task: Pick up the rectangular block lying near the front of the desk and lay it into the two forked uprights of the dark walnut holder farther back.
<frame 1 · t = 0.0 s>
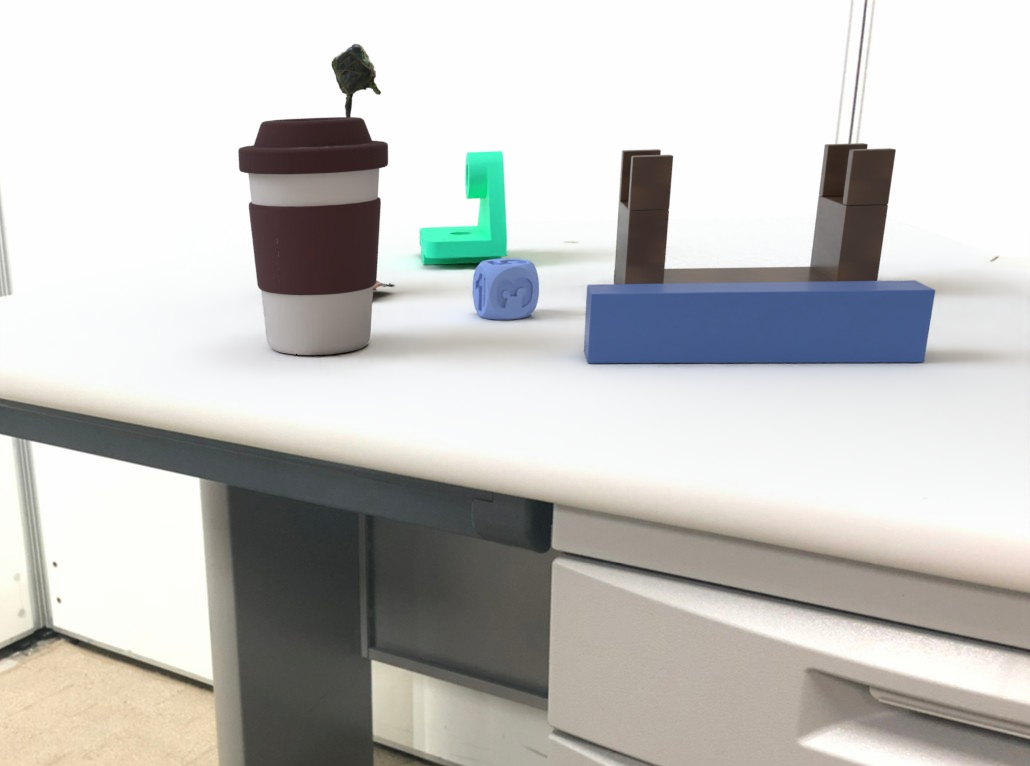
holder: (737, 290, 98), on the table
decorative dice: (504, 317, 92), on the table
plant with pod: (327, 297, 103), on the table
rectangular block: (746, 356, 76), on the table
camera mount: (460, 262, 120), on the table
coffee cup: (318, 348, 84), on the table
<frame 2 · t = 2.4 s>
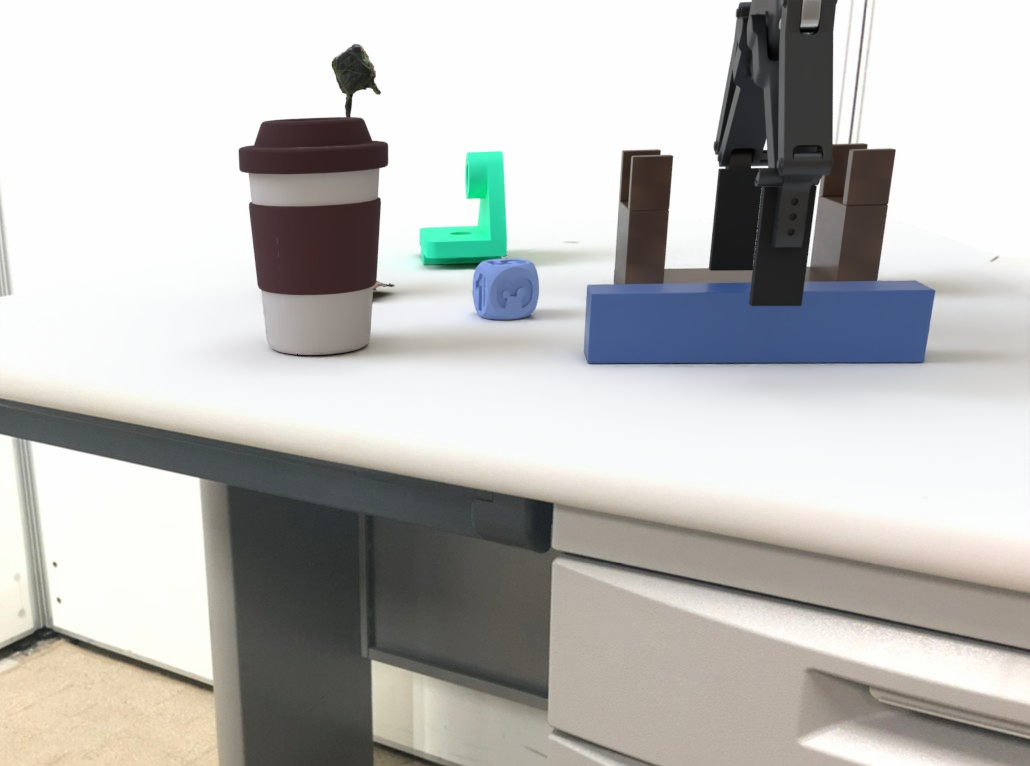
hand: (750, 286, 74), 4 cm above the table, tool pointing down, fingers open, 13 cm apart
nothing on the table moved.
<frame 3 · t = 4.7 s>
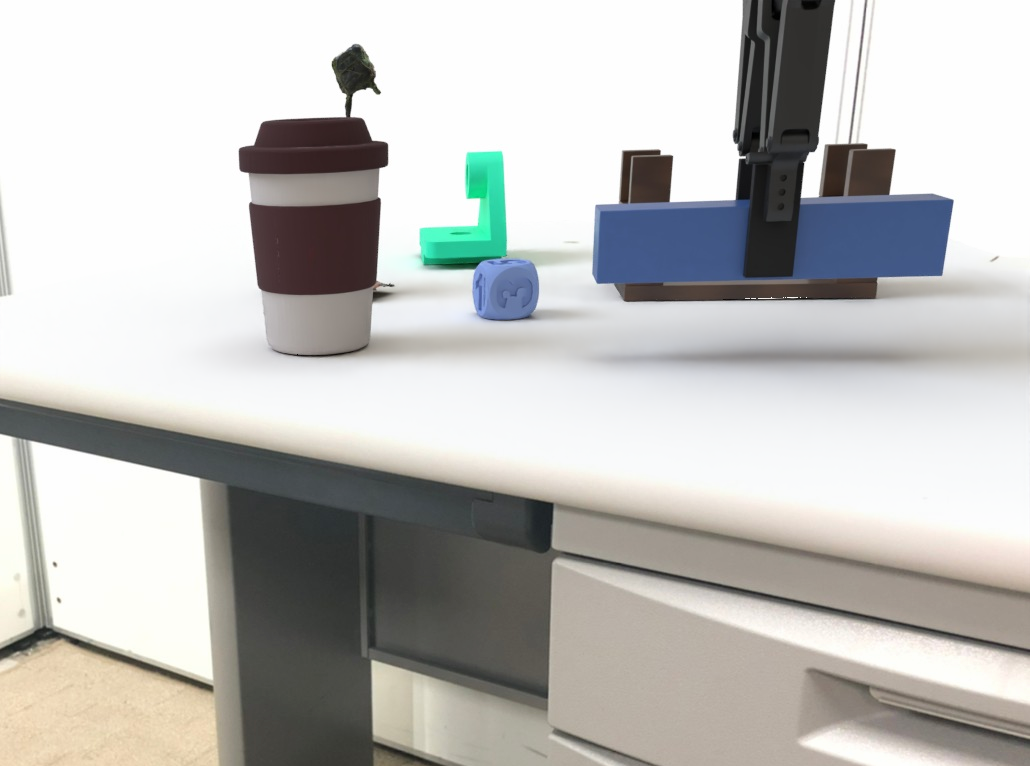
hand: (760, 269, 74), 5 cm above the table, tool pointing down, fingers closed on rectangular block, 4 cm apart
rectangular block: (759, 275, 74), point 5 cm above the table, touching gripper
everything else where it was.
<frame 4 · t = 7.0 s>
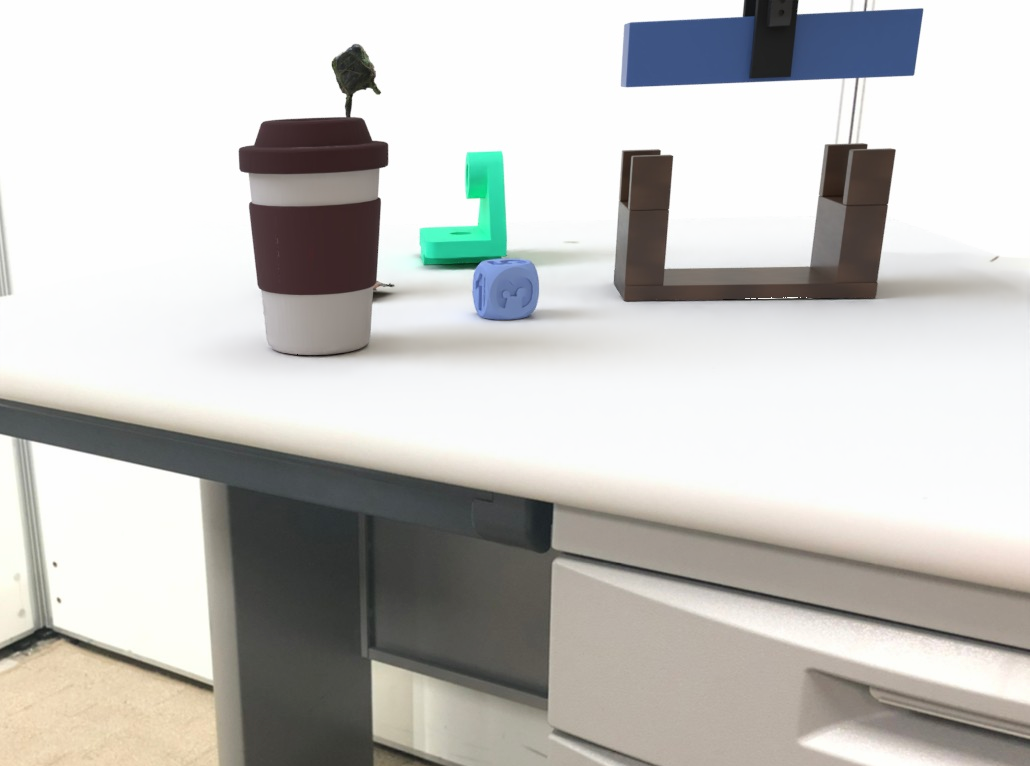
hand: (763, 76, 88), 16 cm above the table, tool pointing down, fingers closed on rectangular block, 4 cm apart
rectangular block: (762, 81, 88), point 16 cm above the table, touching gripper
everything else where it was.
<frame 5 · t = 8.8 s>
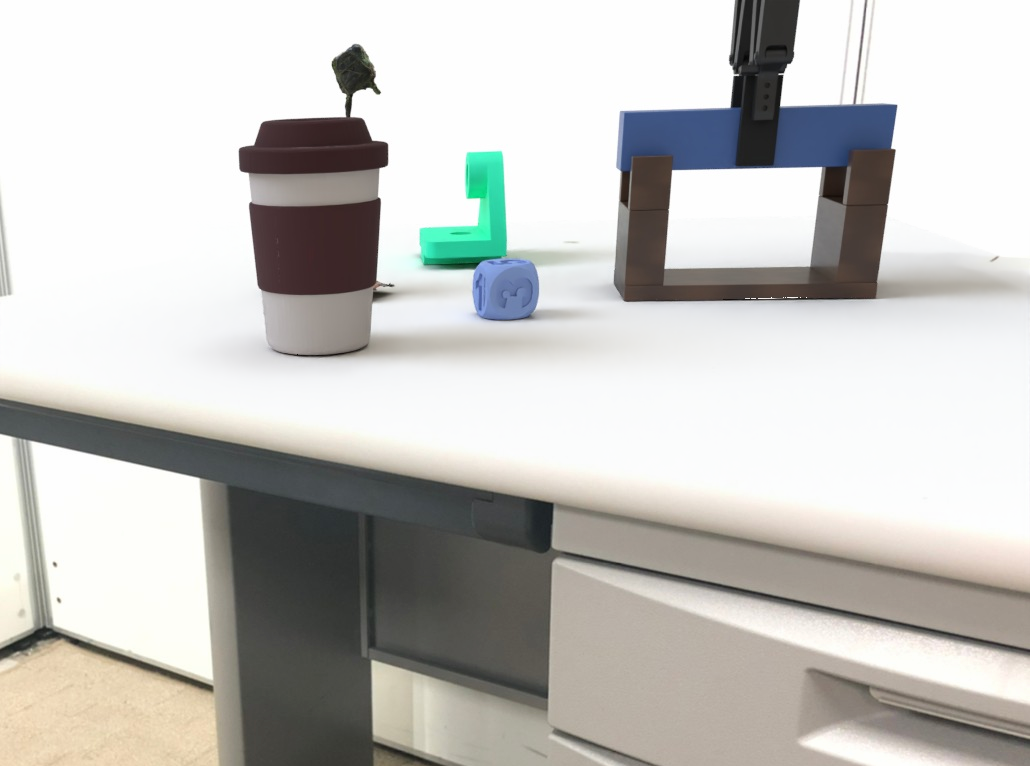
hand: (748, 162, 94), 10 cm above the table, tool pointing down, fingers closed on rectangular block, 4 cm apart
rectangular block: (747, 166, 95), point 10 cm above the table, touching gripper
everything else where it was.
when the fingers open (7 cm above the table, at t = 9.7 s): rectangular block stays where it is, resting on holder.
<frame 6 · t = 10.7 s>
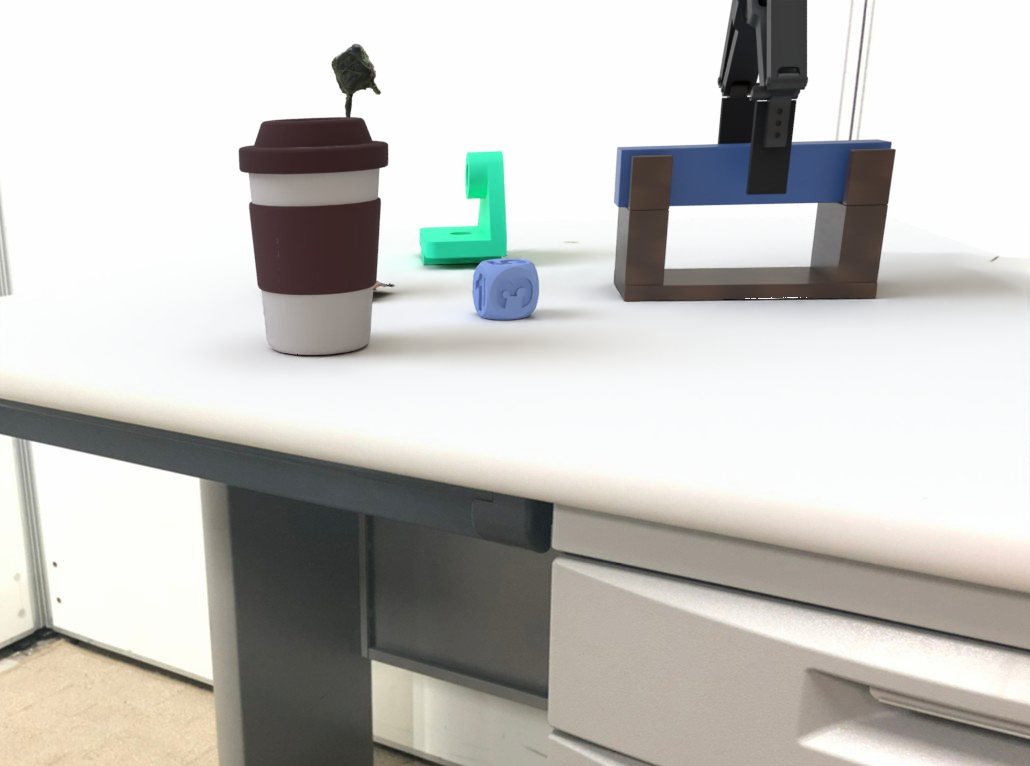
hand: (747, 186, 95), 8 cm above the table, tool pointing down, fingers open, 13 cm apart
rectangular block: (744, 202, 96), point 7 cm above the table, touching holder
everything else where it was.
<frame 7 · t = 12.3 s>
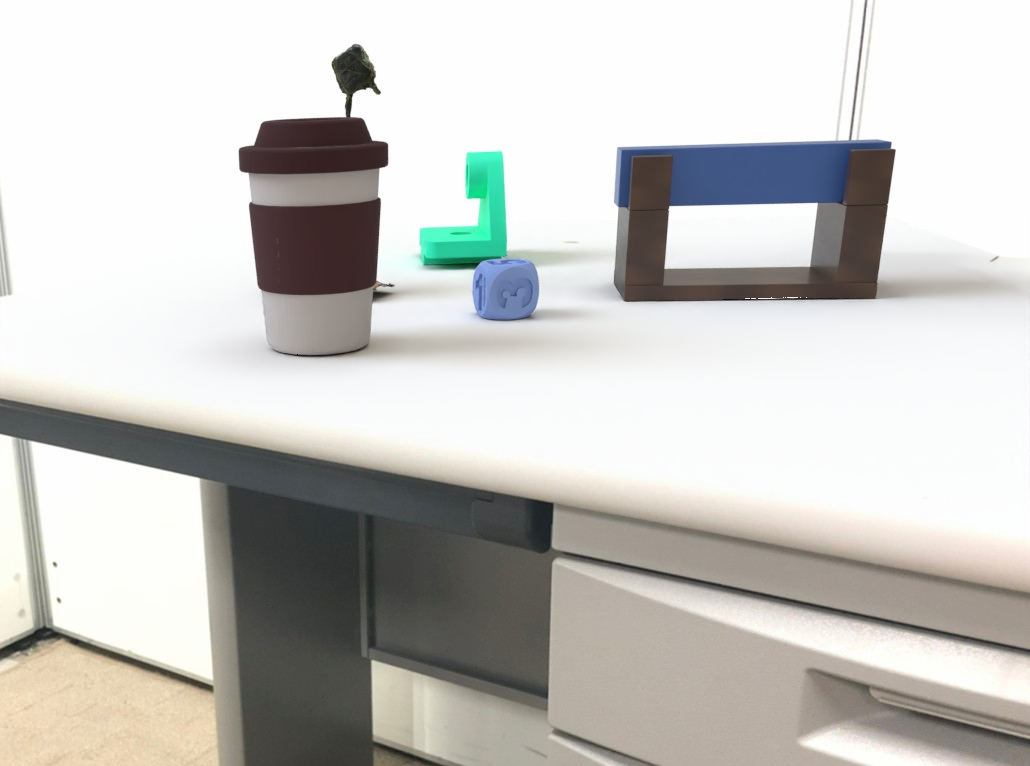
nothing on the table moved.
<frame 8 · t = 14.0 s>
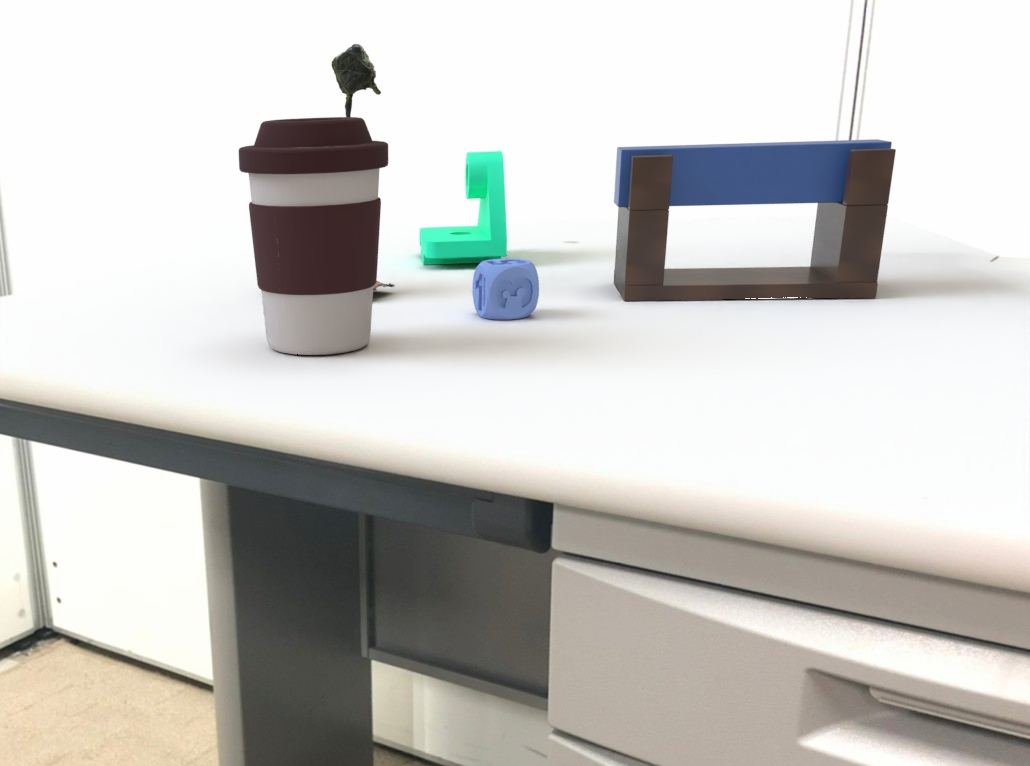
nothing on the table moved.
at the end: rectangular block 0.1 cm off-centre on the holder, point 7.0 cm above the holder's base; rectangular block tilted 0°; the gripper is holding nothing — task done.
